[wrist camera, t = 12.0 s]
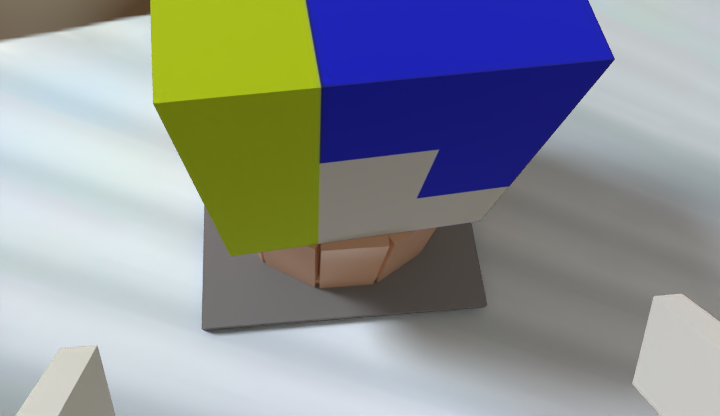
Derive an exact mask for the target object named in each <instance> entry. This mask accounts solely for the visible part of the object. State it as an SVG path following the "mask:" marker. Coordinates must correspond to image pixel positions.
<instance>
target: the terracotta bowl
mask: <svg viewBox="0 0 720 416" xmlns="http://www.w3.org/2000/svg"><path fill="white" fill-rule="evenodd" d="M436 228H437V227H436ZM436 228H429V229H422V230H415V231H407V232H400V233H393V234H386V235H379V236H372V237H365V238H358V239H351V240H344V241H337V242H330V243H323V244H316V245H309V246H301V247H294V248H287V249H280V250H273V251H266V252H259V253H257V254H258V255H259V257H260V258H261V260H262V261H265V262H266V265H268V266H270V267H272V268H274V269H276V270H278V271H281V272H283V273H285V274H287V275H289V276H291V277H293V278H295V279H298V280H300V281H302V282H304V283H306V284H308V285H310V286H312V287H314V288H315V286H316V285H319V288H332V287H345V286H359V285H372V284H374V281H375V280H376V281H377V283H378V282H380V281H381V280H382V279H384V278H385V277H387V276H388V275H390V274H391V273H393V272H394V271H395V270H397V269H398V268H400V267H401V266H403V265H404V264H406V263H407V262H408V261H410V260H411V259H413V258H414V257H416V256H417V255H419V254H420V252H421V251H422V250H423V248H424V247H425V245H426V243H427V242H428V240H429V239H430V237H431V236H432V234H433V232H434V231H435V229H436Z"/></svg>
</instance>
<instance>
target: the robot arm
mask: <svg viewBox="0 0 720 416" xmlns="http://www.w3.org/2000/svg"><path fill="white" fill-rule="evenodd" d="M632 384H633V385H634V387H635V388H636V389H637V390H638V391H639V392H640V393H641V394H642V395H643V397H644V398H645V399H646V400H647V401H648V402H649V403H650V404H651V405H652V407H653V408H654V409H655V410H656V411H657V412H658V413H659V414H660V415H661V416H720V321H718V320H717V319H716V318H714V317H713V316H712V315H710V314H709V313H708V312H706V311H705V310H704V309H702V308H701V307H699V306H698V305H697V304H695V303H694V302H693V301H691V300H690V299H689V298H687V297H686V296H685V295H683V294H672V295H660V296H654V297H653V301H652V305H651V309H650V313H649V317H648V321H647V325H646V330H645V334H644V338H643V342H642V346H641V350H640V354H639V358H638V362H637V366H636V370H635V375H634V379H633V383H632ZM16 416H115V412H114V408H113V404H112V400H111V396H110V392H109V388H108V384H107V381H106V377H105V373H104V369H103V365H102V361H101V357H100V353H99V349H98V345H92V346H81V347H70V348H60V349H59V351H58V352H57V354H56V355H55V357H54V358H53V360H52V361H51V363H50V364H49V366H48V367H47V369H46V370H45V372H44V373H43V375H42V376H41V378H40V380H39V381H38V383H37V384H36V386H35V387H34V389H33V390H32V392H31V393H30V395H29V396H28V398H27V399H26V401H25V402H24V404H23V405H22V407H21V408H20V410H19V411H18V413H17V414H16Z"/></svg>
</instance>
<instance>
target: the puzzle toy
mask: <svg viewBox="0 0 720 416" xmlns="http://www.w3.org/2000/svg"><path fill="white" fill-rule="evenodd" d="M150 5H151V6H150V7H151V43H152V79H153V104H154V106H155V108H156V110H157V112H158V114H159V116H160V118H161V120H162V122H163V124H164V126H165V128H166V130H167V132H168V134H169V136H170V138H171V140H172V142H173V144H174V146H175V148H176V150H177V152H178V154H179V156H180V158H181V160H182V161H183V163H184V165H185V167H186V169H187V171H188V173H189V175H190V177H191V179H192V181H193V183H194V185H195V187H196V189H197V191H198V193H199V195H200V197H201V199H202V201H203V203H204V205H205V207H206V209H207V211H208V213H209V215H210V217H211V219H212V221H213V223H214V225H215V227H216V229H217V231H218V233H219V235H220V237H221V239H222V240H223V242H224V244H225V246H226V248H227V250H228V252H229V254H230V256H238V255H245V254H252V253H259V252H266V251H273V250H280V249H287V248H294V247H301V246H309V245H316V244H323V243H330V242H337V241H344V240H351V239H358V238H365V237H372V236H379V235H386V234H393V233H400V232H407V231H415V230H422V229H429V228H436V227H443V226H450V225H457V224H464V223H471V222H478V221H481V220H482V218H483V217H484V216H485V215H486V214H487V212H488V211H489V210H490V209H491V208H492V206H493V205H494V204H495V203H496V202H497V200H498V199H499V198H500V197H501V196H502V194H503V193H504V192H505V191H506V190H507V188H508V187H509V186H510V185H511V183H512V182H513V181H514V180H515V179H516V177H517V176H518V175H519V174H520V173H521V171H522V170H523V169H524V168H525V167H526V165H527V164H528V163H529V162H530V161H531V159H532V158H533V157H534V156H535V155H536V153H537V152H538V151H539V150H540V149H541V147H542V146H543V145H544V144H545V143H546V141H547V140H548V139H549V138H550V137H551V135H552V134H553V133H554V132H555V131H556V129H557V128H558V127H559V126H560V125H561V123H562V122H563V121H564V120H565V119H566V117H567V116H568V115H569V114H570V113H571V111H572V110H573V109H574V108H575V107H576V105H577V104H578V103H579V102H580V101H581V99H582V98H583V97H584V96H585V95H586V93H587V92H588V91H589V90H590V89H591V87H592V86H593V85H594V84H595V83H596V81H597V80H598V79H599V78H600V77H601V75H602V74H603V73H604V72H605V71H606V69H607V68H608V67H609V66H610V64H611V63H612V62H613V61H614V60H615V59H614V56H613V54H612V52H611V50H610V48H609V45H608V43H607V41H606V39H605V36H604V34H603V32H602V30H601V28H600V25H599V23H598V21H597V19H596V17H595V14H594V12H593V10H592V8H591V6H590V3H589V1H588V0H150Z"/></svg>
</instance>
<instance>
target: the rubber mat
mask: <svg viewBox="0 0 720 416" xmlns="http://www.w3.org/2000/svg"><path fill="white" fill-rule="evenodd" d="M486 305H487V302H486V297H485V292H484V287H483V282H482V276H481V271H480V266H479V261H478V256H477V251H476V246H475V241H474V235H473V230H472V225H471V223H464V224H457V225H450V226H443V227H437V228H436V229H435V231H434V232H433V234H432V236H431V237H430V239H429V240H428V242H427V243H426V245H425V247H424V248H423V250H422V251H421V252H420V254H419V255H417V256H416V257H414V258H413V259H411V260H410V261H408V262H407V263H406V264H404V265H403V266H401V267H400V268H398V269H397V270H395V271H394V272H393V273H391V274H390V275H388V276H387V277H385V278H384V279H382V280H381V281H380V282H378V283H377V281H376V280H375V281H374V284H372V285H359V286H345V287H332V288H319V285H316V286H315V288H314V287H312V286H310V285H308V284H306V283H304V282H302V281H300V280H298V279H295V278H293V277H291V276H289V275H287V274H285V273H283V272H281V271H278V270H276V269H274V268H272V267H270V266H268V265H266V262H265V261H262V260H261V258H260V257H259V255H258V254H257V253H252V254H245V255H238V256H230V254H229V252H228V250H227V248H226V246H225V244H224V242H223V240H222V239H221V237H220V235H219V233H218V231H217V229H216V227H215V225H214V223H213V221H212V219H211V217H210V215H209V213H208V211H207V209H206V207H204V251H203V296H202V329H203V330H215V329H227V328H239V327H251V326H263V325H275V324H287V323H299V322H311V321H323V320H335V319H347V318H359V317H371V316H383V315H395V314H407V313H419V312H431V311H444V310H456V309H468V308H480V307H485V306H486Z"/></svg>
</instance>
